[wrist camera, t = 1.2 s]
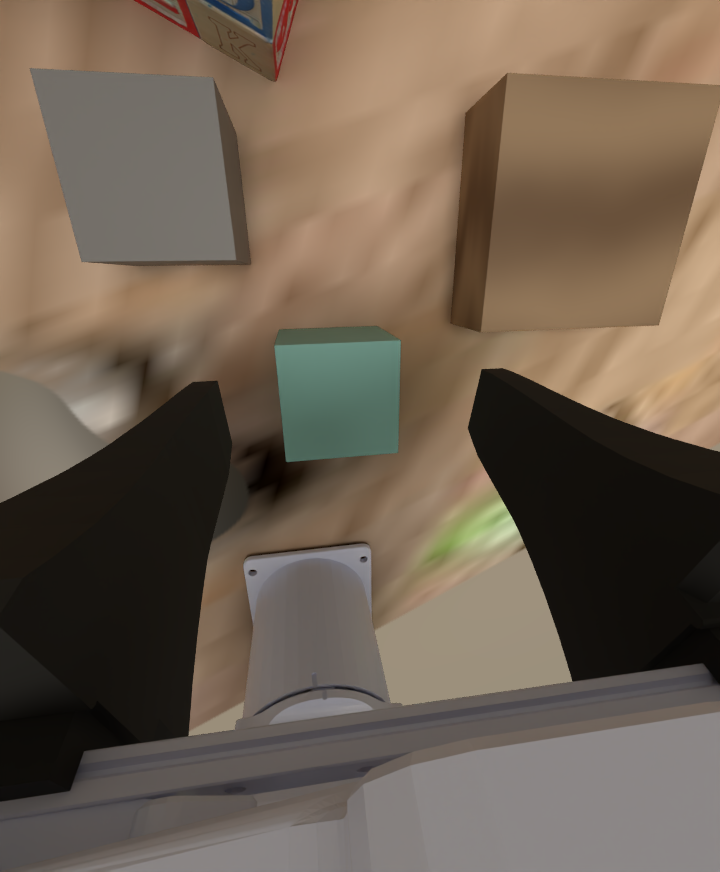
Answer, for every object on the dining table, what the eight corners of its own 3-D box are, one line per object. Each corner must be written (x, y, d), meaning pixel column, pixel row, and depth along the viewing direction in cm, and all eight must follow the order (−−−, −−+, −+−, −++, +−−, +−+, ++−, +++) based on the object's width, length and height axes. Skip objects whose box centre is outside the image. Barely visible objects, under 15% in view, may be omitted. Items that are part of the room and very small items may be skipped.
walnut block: (598, 317, 22) (658, 325, 18) (448, 322, 21) (480, 332, 17) (640, 123, 19) (724, 85, 15) (462, 115, 17) (507, 73, 14)
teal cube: (376, 416, 22) (397, 452, 17) (287, 422, 21) (285, 461, 17) (376, 325, 20) (400, 340, 15) (279, 329, 19) (274, 345, 15)
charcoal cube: (251, 264, 18) (236, 260, 13) (137, 265, 17) (81, 261, 13) (236, 134, 16) (212, 77, 12) (108, 130, 15) (29, 68, 11)
